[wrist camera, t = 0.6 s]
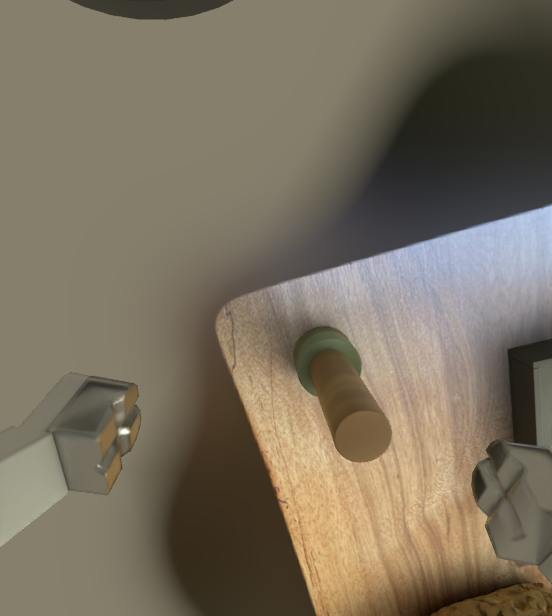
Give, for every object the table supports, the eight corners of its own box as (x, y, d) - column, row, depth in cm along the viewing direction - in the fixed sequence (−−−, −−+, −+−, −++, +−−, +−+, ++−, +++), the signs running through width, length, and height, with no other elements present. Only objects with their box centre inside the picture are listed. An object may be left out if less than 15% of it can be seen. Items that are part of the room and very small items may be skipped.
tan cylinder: (287, 334, 31) (309, 406, 19) (346, 320, 31) (402, 384, 19) (299, 387, 32) (326, 486, 21) (356, 374, 32) (414, 465, 21)
